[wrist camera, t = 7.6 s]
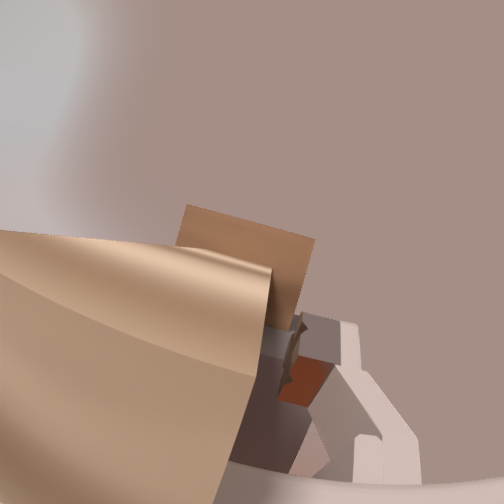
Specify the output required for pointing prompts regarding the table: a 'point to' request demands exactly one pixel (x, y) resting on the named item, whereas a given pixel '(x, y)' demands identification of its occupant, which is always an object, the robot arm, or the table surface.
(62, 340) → the mallet
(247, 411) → the pedestal
